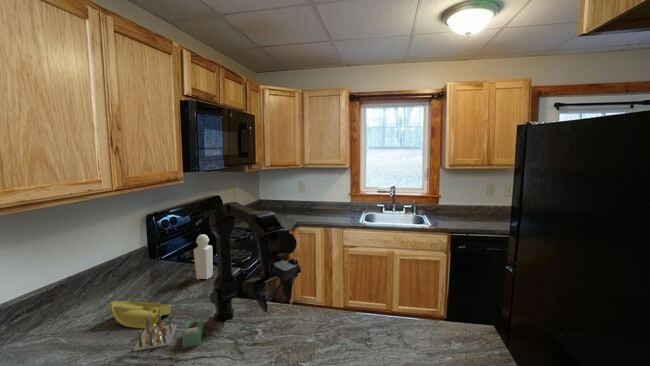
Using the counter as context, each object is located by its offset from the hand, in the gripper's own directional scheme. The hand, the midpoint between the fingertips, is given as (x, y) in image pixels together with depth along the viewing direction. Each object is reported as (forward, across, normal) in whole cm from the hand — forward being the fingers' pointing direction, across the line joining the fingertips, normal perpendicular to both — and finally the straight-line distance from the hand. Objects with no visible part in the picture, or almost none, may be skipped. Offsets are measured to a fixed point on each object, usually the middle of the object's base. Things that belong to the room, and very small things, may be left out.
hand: (277, 305), depth 87 cm
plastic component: (+3, -17, +58) cm, 61 cm away
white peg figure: (-1, +17, +73) cm, 75 cm away
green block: (+9, -12, +31) cm, 34 cm away
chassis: (+7, -19, +41) cm, 46 cm away
